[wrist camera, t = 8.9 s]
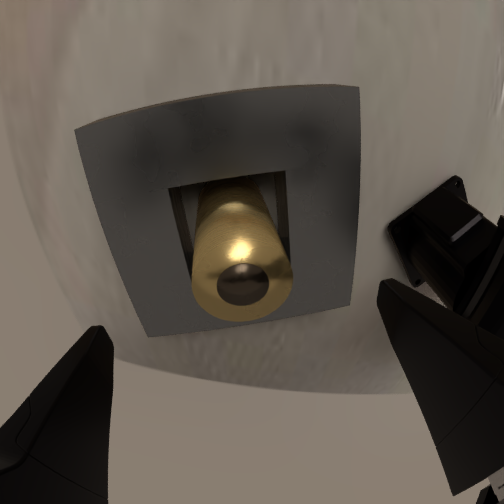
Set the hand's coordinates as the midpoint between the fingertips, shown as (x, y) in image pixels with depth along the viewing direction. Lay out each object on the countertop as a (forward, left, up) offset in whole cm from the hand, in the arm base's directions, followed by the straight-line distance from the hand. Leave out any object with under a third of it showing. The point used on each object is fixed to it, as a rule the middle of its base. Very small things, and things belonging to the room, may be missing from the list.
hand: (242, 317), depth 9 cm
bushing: (0, 0, -9) cm, 9 cm away
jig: (0, 0, -9) cm, 9 cm away
